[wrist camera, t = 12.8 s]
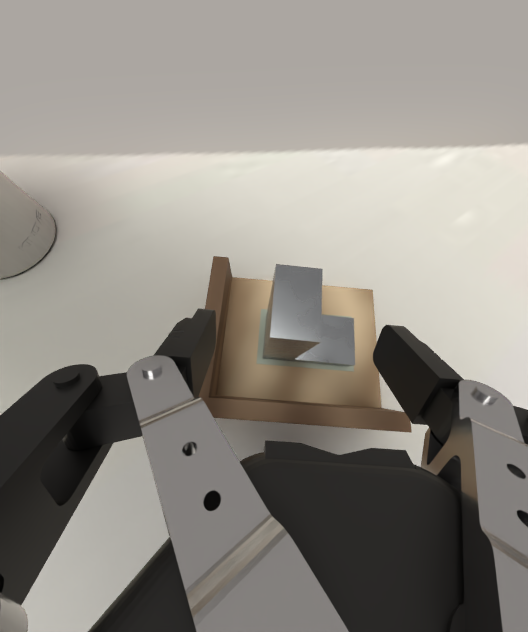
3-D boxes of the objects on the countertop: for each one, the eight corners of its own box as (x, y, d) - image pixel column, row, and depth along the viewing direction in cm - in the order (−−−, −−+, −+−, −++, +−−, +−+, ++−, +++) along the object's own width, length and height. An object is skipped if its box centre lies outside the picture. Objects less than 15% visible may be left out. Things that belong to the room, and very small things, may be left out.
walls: (199, 409, 18) (187, 415, 15) (219, 276, 22) (213, 256, 18) (382, 423, 18) (411, 432, 15) (372, 289, 22) (394, 272, 19)
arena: (202, 408, 19) (199, 409, 18) (221, 280, 23) (219, 275, 21) (376, 421, 19) (383, 423, 18) (367, 293, 23) (372, 289, 22)
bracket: (262, 358, 19) (269, 337, 11) (266, 314, 21) (275, 264, 12) (347, 366, 19) (422, 352, 11) (346, 322, 21) (413, 278, 12)
